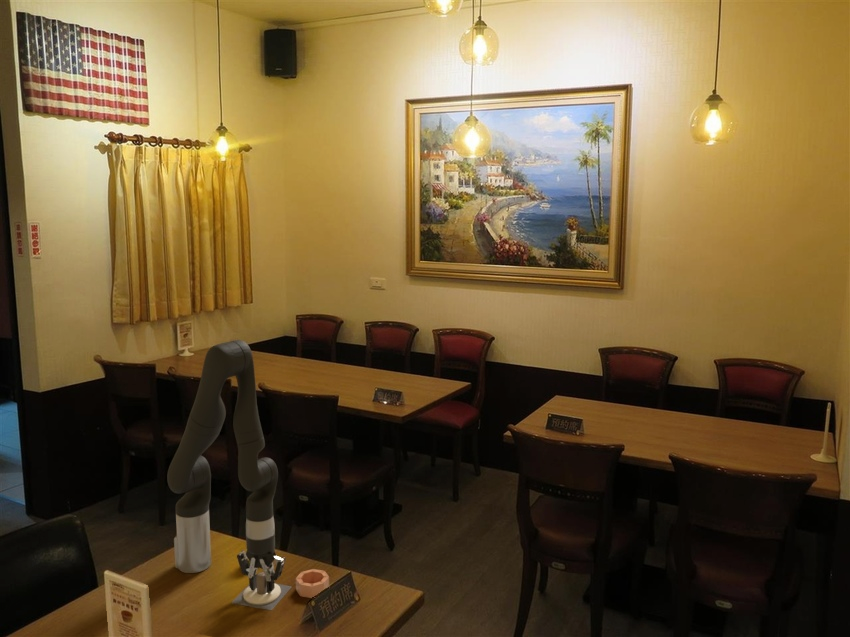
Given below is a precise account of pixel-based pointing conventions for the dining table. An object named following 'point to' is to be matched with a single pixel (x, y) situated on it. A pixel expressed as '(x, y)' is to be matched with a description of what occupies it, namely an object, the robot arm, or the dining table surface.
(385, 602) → the dining table surface
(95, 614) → the dining table surface
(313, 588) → the bowl
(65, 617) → the dining table surface
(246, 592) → the lid
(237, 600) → the mat
